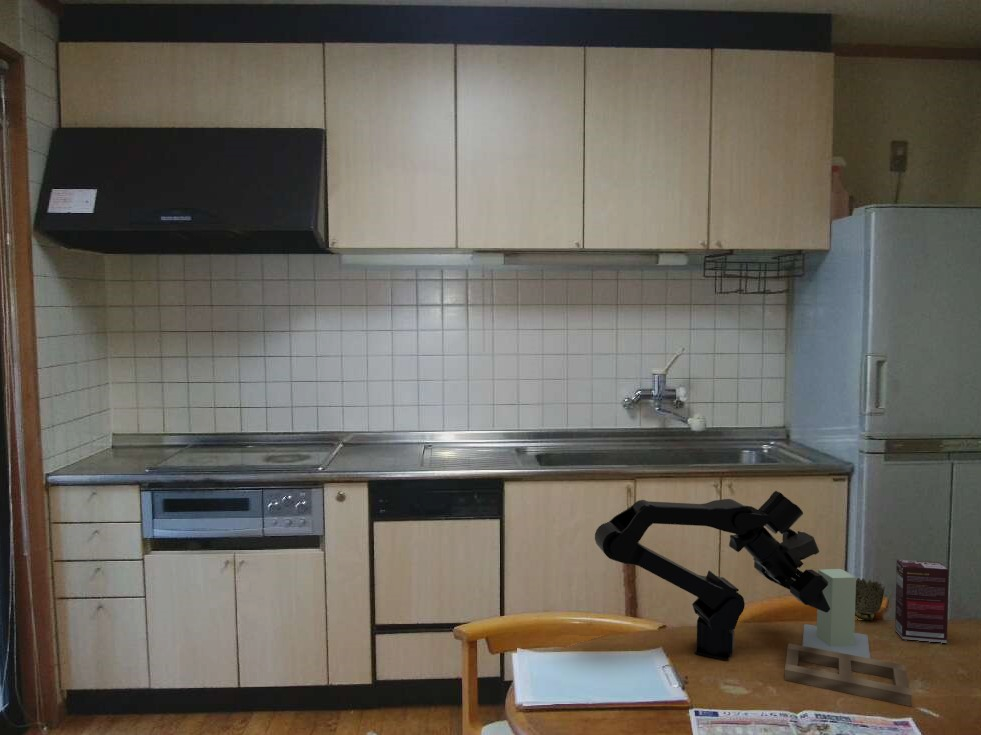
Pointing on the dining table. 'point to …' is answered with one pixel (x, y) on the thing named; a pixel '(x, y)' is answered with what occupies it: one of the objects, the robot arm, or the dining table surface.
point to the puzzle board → (848, 674)
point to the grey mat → (857, 649)
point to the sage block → (838, 608)
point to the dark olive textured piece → (868, 598)
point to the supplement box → (921, 600)
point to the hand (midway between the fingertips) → (814, 601)
